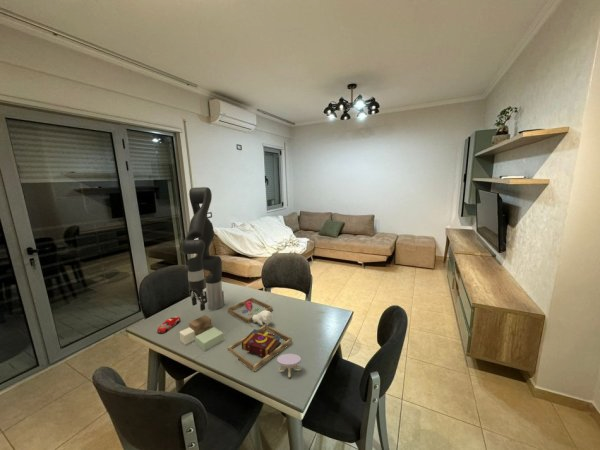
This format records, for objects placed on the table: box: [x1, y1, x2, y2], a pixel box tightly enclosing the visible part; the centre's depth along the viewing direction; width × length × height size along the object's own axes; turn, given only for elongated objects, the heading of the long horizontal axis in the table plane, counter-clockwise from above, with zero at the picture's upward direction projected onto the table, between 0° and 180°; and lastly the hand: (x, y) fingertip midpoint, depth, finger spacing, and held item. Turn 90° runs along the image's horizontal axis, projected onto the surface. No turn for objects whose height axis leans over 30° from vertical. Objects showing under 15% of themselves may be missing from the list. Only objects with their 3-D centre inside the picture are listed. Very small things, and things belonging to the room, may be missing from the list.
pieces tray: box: [227, 297, 273, 325], centre depth 148 cm, size 19×20×2 cm
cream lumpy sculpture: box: [251, 309, 273, 326], centre depth 134 cm, size 6×8×12 cm
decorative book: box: [241, 329, 282, 358], centre depth 115 cm, size 11×16×5 cm
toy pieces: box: [241, 301, 260, 317], centre depth 148 cm, size 12×11×4 cm
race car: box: [157, 315, 181, 334], centre depth 133 cm, size 13×5×4 cm, turn 162°
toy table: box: [276, 353, 302, 378], centre depth 101 cm, size 10×9×6 cm
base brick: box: [194, 326, 224, 351], centre depth 117 cm, size 10×8×4 cm
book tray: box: [227, 324, 293, 372], centre depth 115 cm, size 24×19×2 cm
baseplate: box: [191, 337, 228, 355], centre depth 118 cm, size 12×12×1 cm
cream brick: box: [179, 326, 196, 345], centre depth 119 cm, size 5×5×6 cm
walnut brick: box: [188, 314, 213, 336], centre depth 129 cm, size 9×6×6 cm, turn 142°
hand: (198, 307), depth 127 cm, fingers open, 8 cm apart
